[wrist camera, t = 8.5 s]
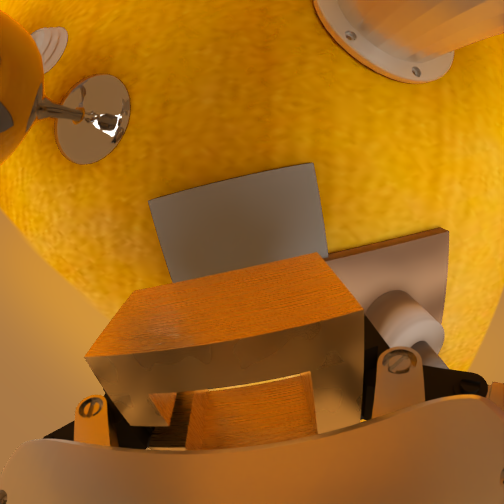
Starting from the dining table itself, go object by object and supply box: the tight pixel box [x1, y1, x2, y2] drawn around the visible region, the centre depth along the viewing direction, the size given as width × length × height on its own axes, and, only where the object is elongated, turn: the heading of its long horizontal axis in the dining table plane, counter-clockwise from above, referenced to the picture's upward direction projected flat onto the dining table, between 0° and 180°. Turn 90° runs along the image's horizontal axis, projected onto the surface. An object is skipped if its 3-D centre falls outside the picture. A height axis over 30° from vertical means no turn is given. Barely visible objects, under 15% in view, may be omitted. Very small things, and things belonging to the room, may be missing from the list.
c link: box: [84, 252, 364, 451], centre depth 8 cm, size 7×7×4 cm
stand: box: [323, 228, 449, 369], centre depth 17 cm, size 12×12×9 cm
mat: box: [148, 163, 328, 283], centre depth 19 cm, size 11×11×1 cm
